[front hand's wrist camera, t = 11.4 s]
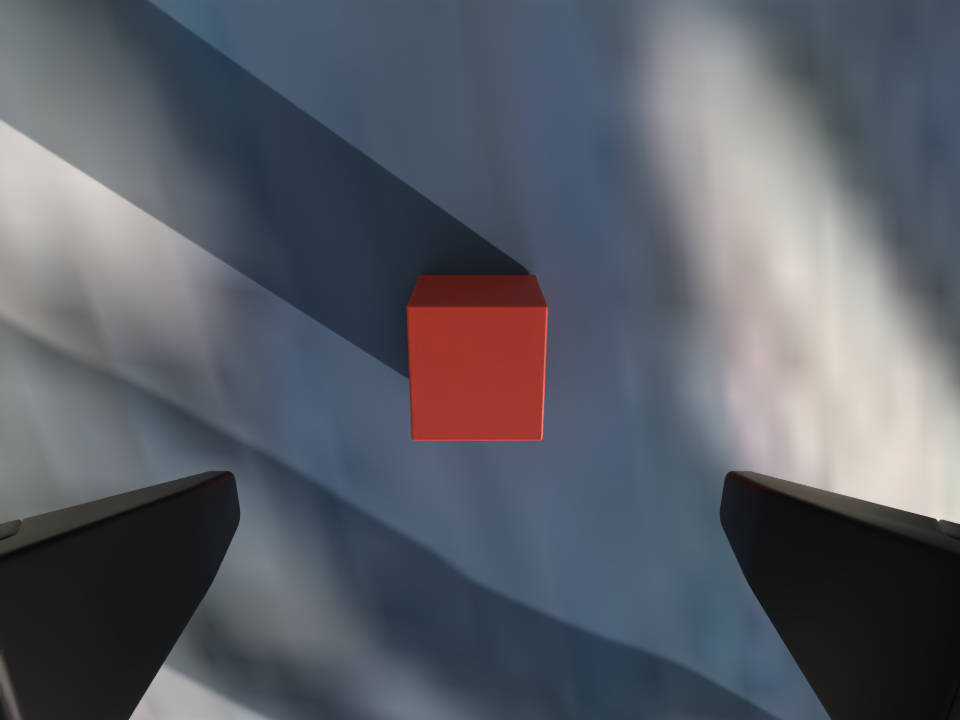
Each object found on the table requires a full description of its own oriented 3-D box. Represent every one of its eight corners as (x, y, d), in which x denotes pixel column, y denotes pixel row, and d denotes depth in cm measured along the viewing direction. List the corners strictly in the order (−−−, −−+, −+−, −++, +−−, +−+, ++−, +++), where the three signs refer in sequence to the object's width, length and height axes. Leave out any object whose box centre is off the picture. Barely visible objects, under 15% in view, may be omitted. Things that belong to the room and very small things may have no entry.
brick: (419, 274, 22) (405, 305, 18) (535, 274, 22) (548, 305, 18) (422, 389, 24) (411, 441, 20) (532, 389, 24) (542, 441, 20)
